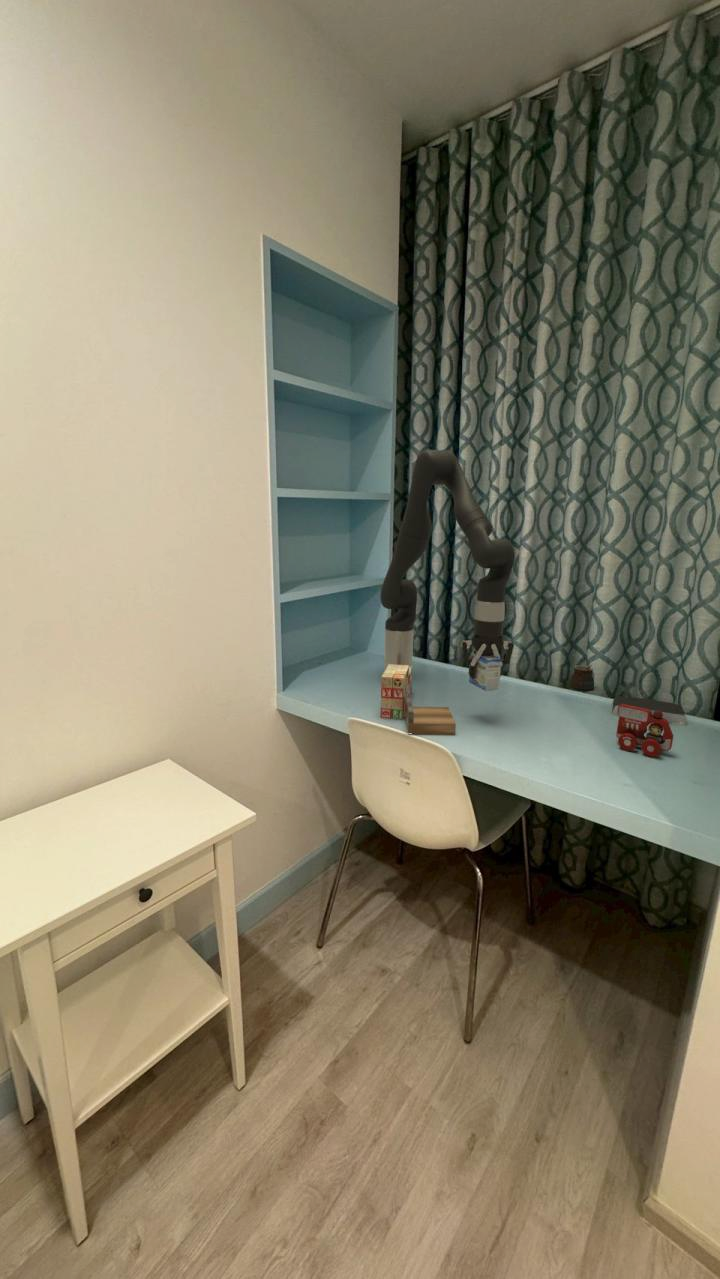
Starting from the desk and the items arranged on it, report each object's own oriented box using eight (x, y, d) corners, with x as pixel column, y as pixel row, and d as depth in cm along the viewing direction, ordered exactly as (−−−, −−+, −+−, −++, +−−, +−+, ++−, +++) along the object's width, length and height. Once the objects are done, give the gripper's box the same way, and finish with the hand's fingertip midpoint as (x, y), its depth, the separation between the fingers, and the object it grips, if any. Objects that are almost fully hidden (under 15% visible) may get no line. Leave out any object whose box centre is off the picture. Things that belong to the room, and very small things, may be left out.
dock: (404, 716, 149) (405, 696, 147) (448, 717, 149) (449, 696, 147) (408, 734, 137) (408, 712, 136) (455, 734, 137) (456, 712, 135)
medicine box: (468, 682, 147) (470, 652, 145) (481, 680, 149) (484, 650, 147) (485, 691, 140) (488, 660, 138) (499, 689, 142) (502, 658, 140)
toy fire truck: (667, 761, 123) (674, 719, 121) (610, 747, 131) (615, 707, 128) (672, 751, 129) (678, 710, 126) (616, 738, 136) (621, 699, 134)
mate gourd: (582, 687, 176) (585, 657, 173) (599, 694, 169) (602, 663, 166) (564, 689, 173) (567, 659, 171) (580, 696, 166) (583, 665, 164)
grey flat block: (686, 731, 142) (688, 717, 141) (610, 719, 150) (612, 706, 149) (682, 715, 153) (684, 702, 152) (611, 705, 160) (613, 693, 160)
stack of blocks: (392, 693, 168) (392, 655, 165) (411, 695, 167) (413, 657, 164) (380, 718, 148) (381, 675, 145) (402, 720, 147) (404, 677, 144)
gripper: (512, 615, 143) (507, 674, 148) (459, 613, 143) (455, 673, 148) (520, 621, 136) (514, 683, 140) (464, 620, 136) (459, 682, 140)
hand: (484, 678), depth 144 cm, fingers closed on medicine box, 5 cm apart
